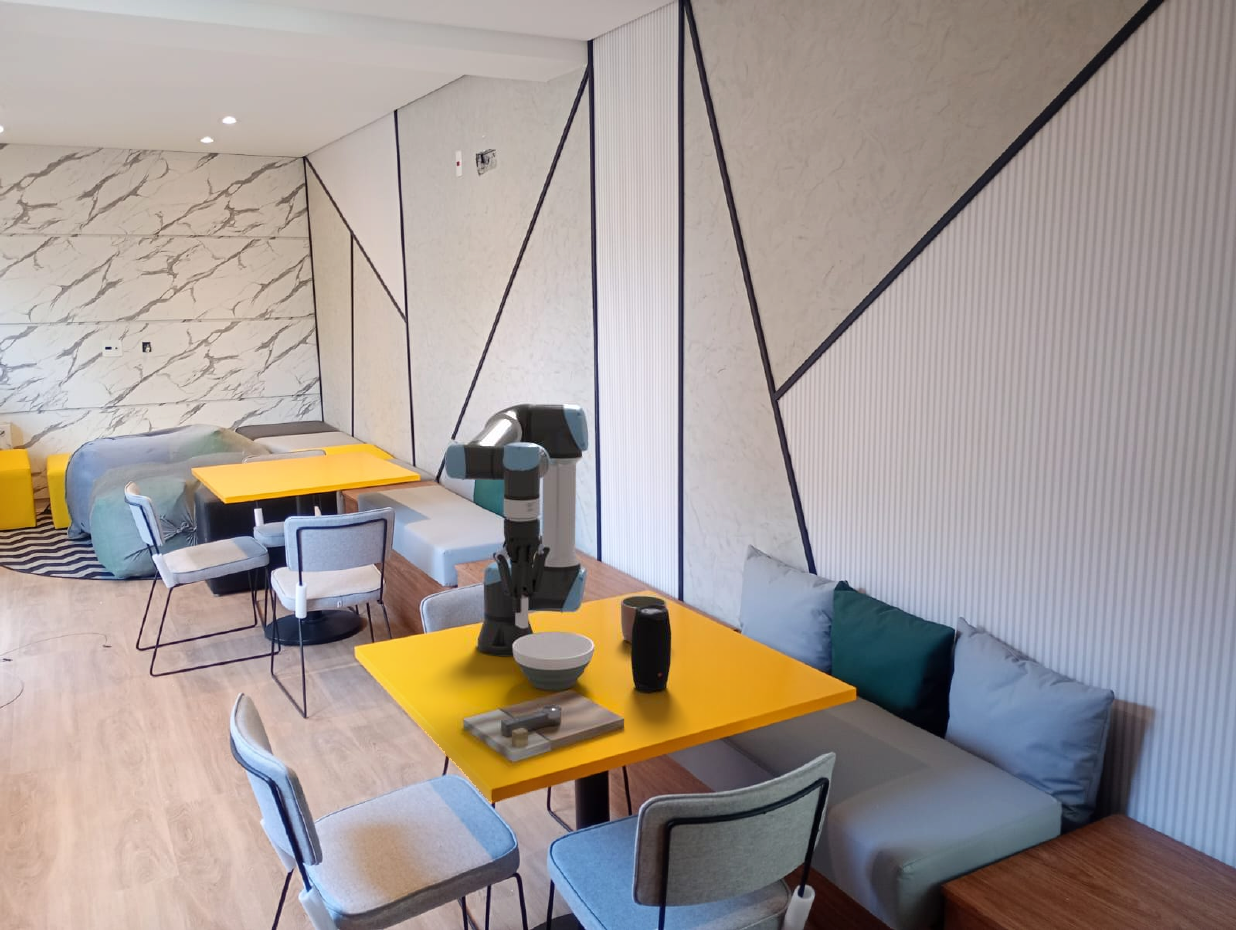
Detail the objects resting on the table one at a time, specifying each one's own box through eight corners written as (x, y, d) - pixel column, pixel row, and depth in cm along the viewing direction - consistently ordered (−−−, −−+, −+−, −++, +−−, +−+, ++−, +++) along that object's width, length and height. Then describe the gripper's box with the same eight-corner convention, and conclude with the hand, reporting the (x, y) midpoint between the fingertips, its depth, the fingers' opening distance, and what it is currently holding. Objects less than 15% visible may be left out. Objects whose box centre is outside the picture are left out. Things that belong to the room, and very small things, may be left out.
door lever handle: (554, 716, 207) (555, 703, 207) (564, 722, 204) (565, 710, 204) (499, 730, 200) (499, 718, 199) (508, 737, 196) (508, 724, 196)
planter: (673, 638, 266) (674, 600, 264) (651, 651, 255) (651, 611, 254) (635, 630, 272) (636, 592, 271) (611, 642, 262) (612, 603, 260)
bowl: (527, 703, 220) (527, 663, 218) (502, 674, 238) (502, 636, 236) (606, 691, 228) (607, 652, 226) (576, 663, 245) (576, 627, 244)
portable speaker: (671, 694, 227) (674, 613, 224) (632, 694, 226) (633, 614, 223) (667, 680, 235) (669, 602, 232) (628, 680, 234) (630, 602, 231)
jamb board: (463, 727, 207) (462, 706, 206) (570, 697, 224) (570, 677, 223) (512, 762, 191) (512, 739, 190) (624, 727, 208) (624, 706, 207)
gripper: (504, 524, 195) (504, 636, 198) (557, 516, 203) (557, 625, 206) (485, 517, 200) (486, 627, 204) (538, 510, 208) (537, 616, 212)
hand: (521, 626), depth 205 cm, fingers closed
